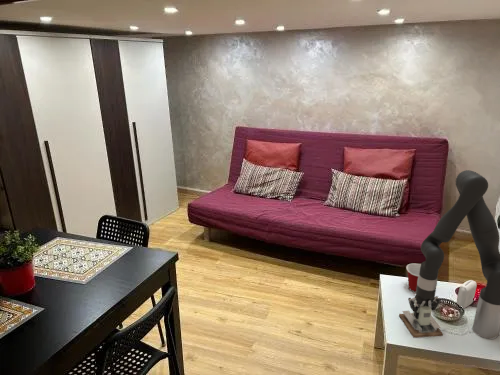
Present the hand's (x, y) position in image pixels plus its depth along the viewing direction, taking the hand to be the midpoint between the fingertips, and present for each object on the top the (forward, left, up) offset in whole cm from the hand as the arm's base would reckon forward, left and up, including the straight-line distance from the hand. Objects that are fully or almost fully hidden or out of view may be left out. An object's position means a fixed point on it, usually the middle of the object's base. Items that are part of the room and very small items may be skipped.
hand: (421, 317), depth 162 cm
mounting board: (0, 0, -5) cm, 5 cm away
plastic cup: (-11, -27, -5) cm, 30 cm away
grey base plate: (0, 0, -3) cm, 3 cm away
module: (0, 0, -1) cm, 1 cm away
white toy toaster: (-29, -13, -5) cm, 32 cm away
